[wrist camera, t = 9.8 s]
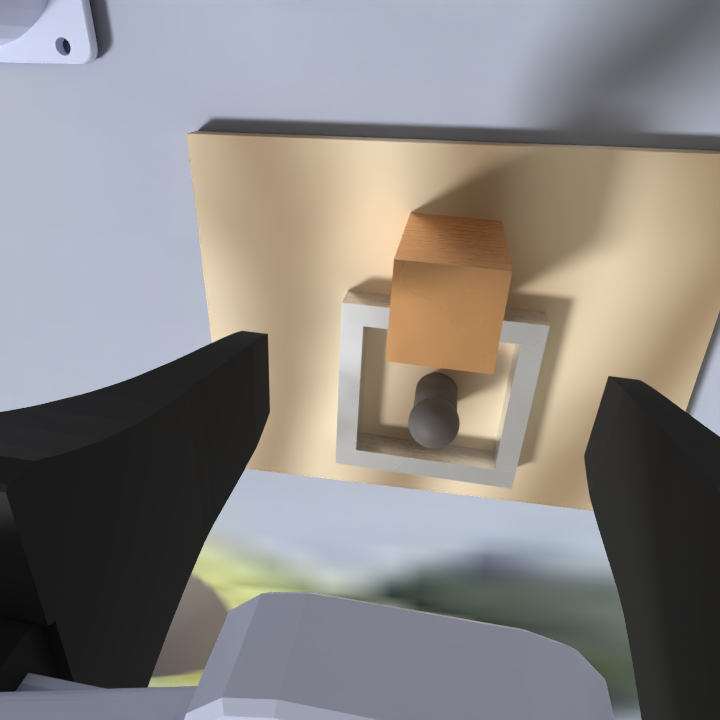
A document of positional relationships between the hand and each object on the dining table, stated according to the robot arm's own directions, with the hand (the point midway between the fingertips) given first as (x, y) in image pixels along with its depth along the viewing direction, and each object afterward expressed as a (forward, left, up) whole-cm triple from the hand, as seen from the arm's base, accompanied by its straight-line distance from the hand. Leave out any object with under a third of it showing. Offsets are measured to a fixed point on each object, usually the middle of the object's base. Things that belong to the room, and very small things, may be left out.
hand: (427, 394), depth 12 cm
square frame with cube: (0, -3, -9) cm, 9 cm away
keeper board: (0, -3, -9) cm, 10 cm away
